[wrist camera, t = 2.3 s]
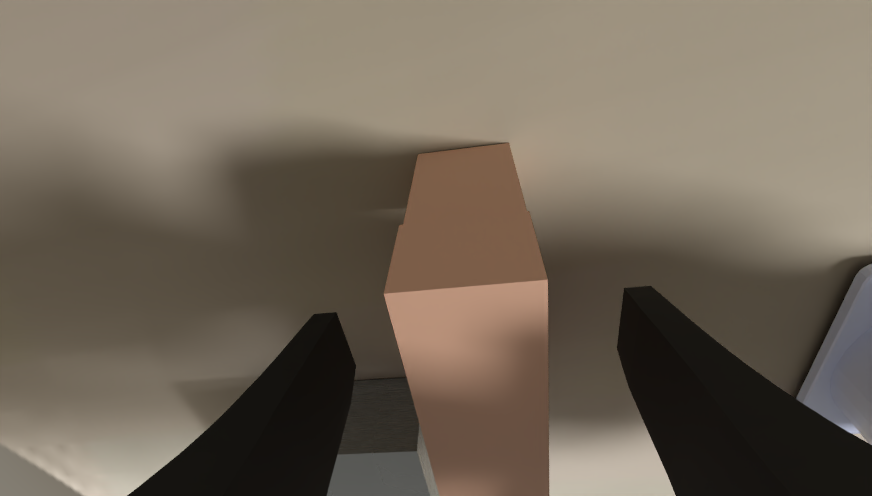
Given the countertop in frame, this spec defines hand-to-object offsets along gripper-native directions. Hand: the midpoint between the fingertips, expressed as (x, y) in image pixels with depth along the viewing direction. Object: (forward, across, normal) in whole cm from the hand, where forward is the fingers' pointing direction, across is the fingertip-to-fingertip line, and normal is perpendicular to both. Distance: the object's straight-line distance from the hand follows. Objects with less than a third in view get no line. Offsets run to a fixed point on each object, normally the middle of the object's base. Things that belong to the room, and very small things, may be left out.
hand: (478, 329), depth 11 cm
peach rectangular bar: (+3, 0, 0) cm, 3 cm away
